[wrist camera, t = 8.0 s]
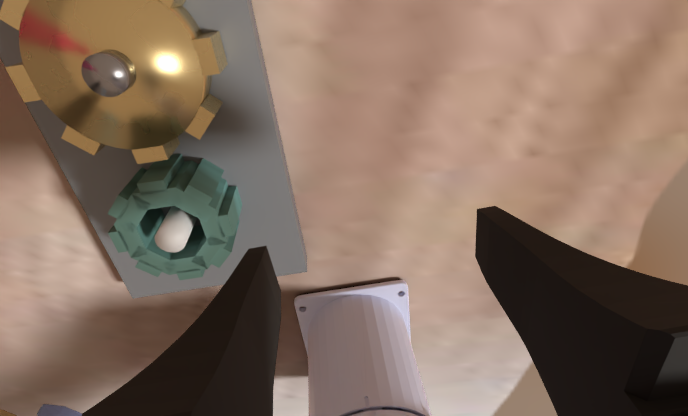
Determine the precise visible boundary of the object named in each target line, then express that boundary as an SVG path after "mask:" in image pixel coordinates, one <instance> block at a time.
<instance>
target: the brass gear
mask: <svg viewBox="0 0 688 416" xmlns="http://www.w3.org/2000/svg"><path fill="white" fill-rule="evenodd" d="M185 1H186V0H4V1H3V4H2V7H1V10H0V20H2V21H4V22H5V23H7V24H8V25H10V26H12V27H13V28H15V29H17V30H18V31H19V47H20V53H21V58H22V62H20V63H17V64H14V65H10V66H7V67H5V69H6V70H7V72H8V74H9V76H10V78H11V79H12V81H13V83H14V85H15V87H16V89H17V90H18V92H19V94H20V96H21V98H22V99H23V101H24V102H31V101H38V100H42V101H43V102H44V103H45V105H46V106H47V107H48V108H49V109H50V110H51V111H52V112H53V113H54V114H55V115H56V116H57V117H58V118H59V119H60V120H61V121H63V122H64V123H65V124H67V126H66V129H65V131H64V133H63V135H62V137H61V138H62V139H64V140H66V141H67V142H69V143H71V144H73V145H75V146H77V147H79V148H81V149H83V150H84V151H86V152H88V153H90V154H92V155H96V154H97V153H98V152H99V151H100V150H101V149H102V148H104V147H105V146H106V145H108V146H112V147H115V148H122V149H132V153H133V155H134V157H135V160H136V162H137V164H142V163H149V162H155V161H162V160H168V159H169V158H170V156H171V155H172V153H173V152H174V151H175V149H176V148H177V147H178V145H179V144H180V142H179V140H178V136H179V135H180V134H182V133H183V132H184V131H186V132H187V133H189V134H191V135H192V136H194V137H196V138H197V139H199V140H200V139H201V137H202V135H203V134H204V132H205V131H206V129H207V127H208V126H209V124H210V123H211V121H212V119H213V118H214V116H215V115H216V113H217V112H218V110H219V108H220V107H221V105H222V103H223V102H222V101H220V100H219V99H217V98H216V97H214V96H213V95H211V94H209V92H210V89H211V84H212V75H215V74H220V73H221V72H222V71H223V69H224V68H225V67H226V66H227V65H228V63H227V59H226V55H225V51H224V47H223V44H222V40H221V36H220V32H219V31H216V32H209V33H202V31H201V29H200V28H199V26H198V24H197V23H196V21H195V20H194V18H193V17H192V16H191V14H190V13H189V12H188V11H187V9H186V8H185V7H184V6H183V5H184V3H185Z"/></svg>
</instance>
